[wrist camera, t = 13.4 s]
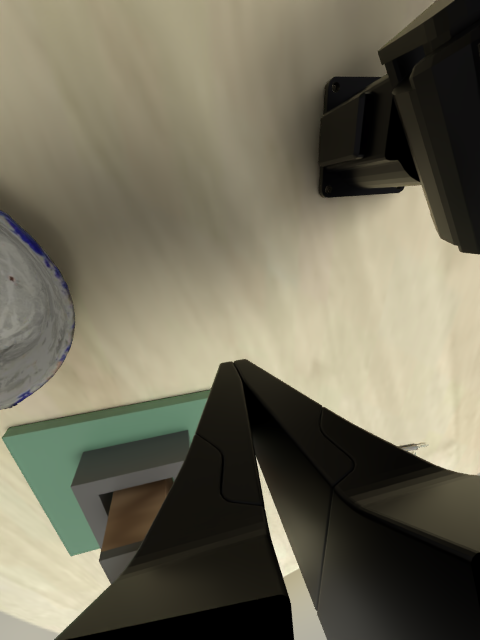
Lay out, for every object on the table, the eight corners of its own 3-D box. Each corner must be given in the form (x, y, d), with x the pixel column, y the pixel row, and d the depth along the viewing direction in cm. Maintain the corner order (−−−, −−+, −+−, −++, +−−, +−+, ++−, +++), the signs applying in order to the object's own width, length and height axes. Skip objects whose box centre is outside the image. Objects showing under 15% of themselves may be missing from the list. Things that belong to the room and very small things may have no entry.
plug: (166, 453, 24) (163, 542, 18) (176, 493, 26) (177, 584, 20) (119, 464, 23) (98, 561, 17) (133, 504, 26) (120, 602, 19)
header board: (236, 384, 24) (247, 417, 20) (245, 499, 31) (255, 538, 27) (9, 427, 21) (-26, 474, 17) (74, 544, 27) (58, 596, 24)
